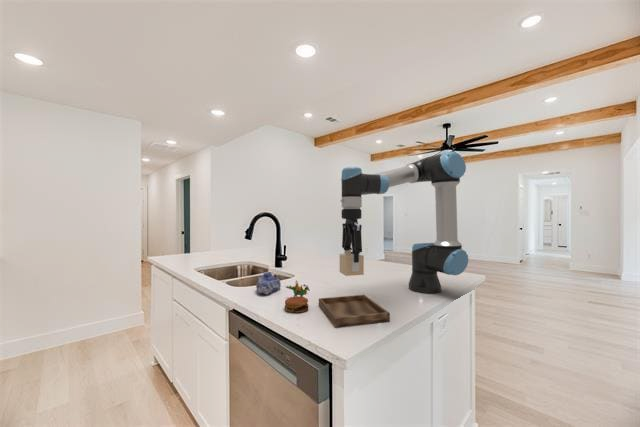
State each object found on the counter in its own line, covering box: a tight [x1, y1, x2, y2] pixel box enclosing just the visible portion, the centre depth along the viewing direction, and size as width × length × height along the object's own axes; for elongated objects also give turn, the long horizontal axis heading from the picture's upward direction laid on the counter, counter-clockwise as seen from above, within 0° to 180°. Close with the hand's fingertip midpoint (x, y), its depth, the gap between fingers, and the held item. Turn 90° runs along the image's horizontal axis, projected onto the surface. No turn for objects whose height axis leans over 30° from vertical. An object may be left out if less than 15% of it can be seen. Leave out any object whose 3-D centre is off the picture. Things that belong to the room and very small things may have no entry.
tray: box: [318, 294, 391, 329], centre depth 103 cm, size 20×22×3 cm
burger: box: [284, 295, 310, 313], centre depth 107 cm, size 10×9×5 cm
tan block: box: [339, 253, 365, 277], centre depth 103 cm, size 7×7×7 cm
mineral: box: [255, 271, 282, 295], centre depth 130 cm, size 14×10×10 cm
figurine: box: [285, 280, 310, 297], centre depth 120 cm, size 3×12×8 cm, turn 69°
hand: (351, 268), depth 103 cm, fingers closed on tan block, 7 cm apart
